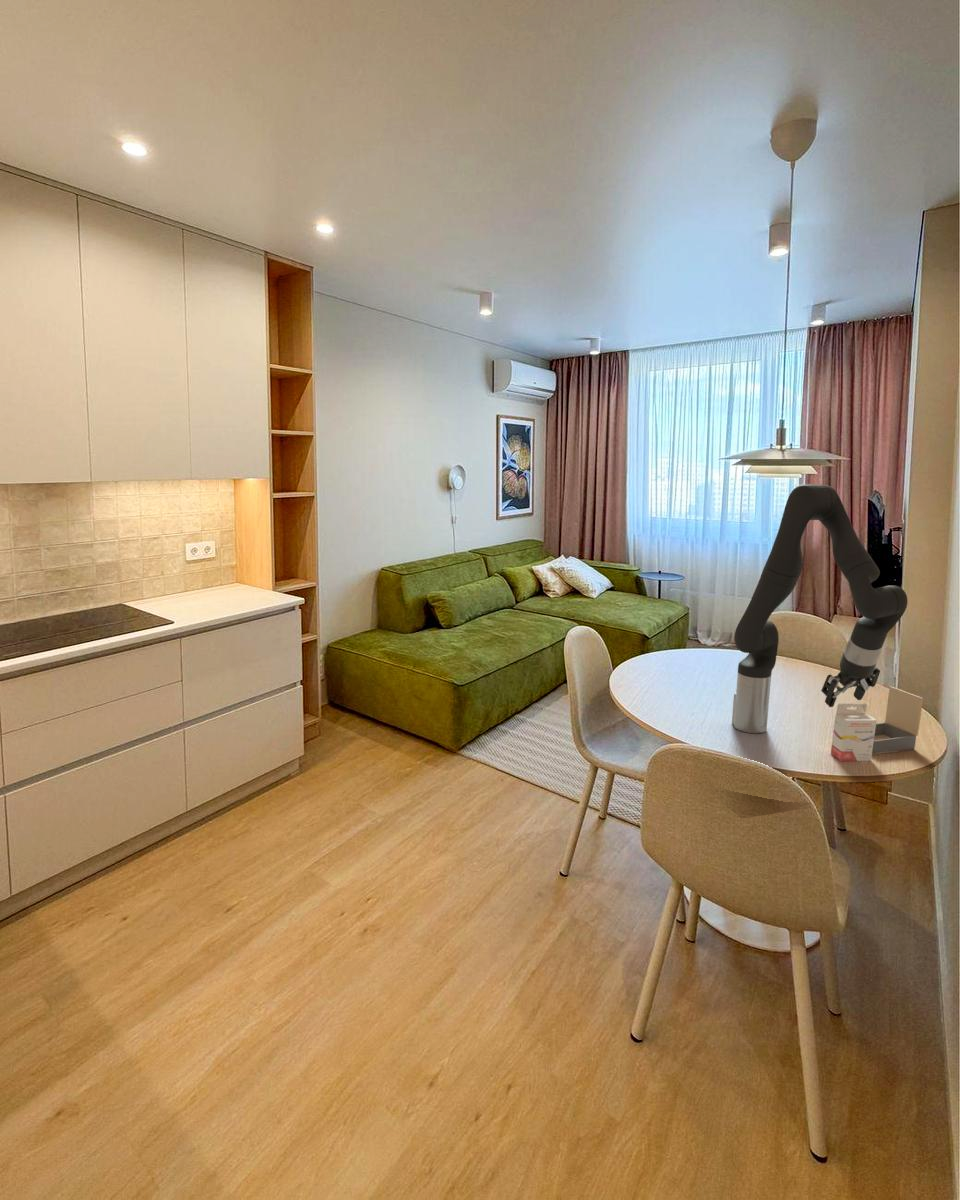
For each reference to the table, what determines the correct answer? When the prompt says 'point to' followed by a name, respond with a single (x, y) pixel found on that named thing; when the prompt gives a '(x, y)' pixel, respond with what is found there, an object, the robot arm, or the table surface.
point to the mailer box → (898, 723)
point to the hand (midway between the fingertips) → (843, 701)
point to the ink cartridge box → (853, 733)
